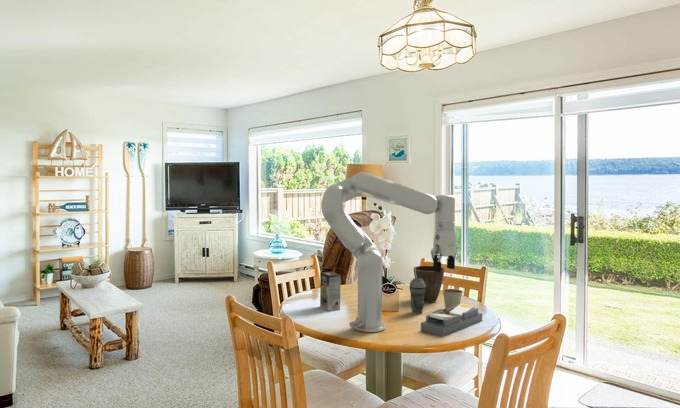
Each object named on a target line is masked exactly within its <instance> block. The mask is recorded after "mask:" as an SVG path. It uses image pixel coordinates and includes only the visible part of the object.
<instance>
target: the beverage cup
mask: <svg viewBox="0 0 680 408" xmlns="http://www.w3.org/2000/svg"><path fill="white" fill-rule="evenodd" d="M408 287H409V291H410V305H411V313H412V314H415V315H422V314H423V310H424V303H425V302H424V293H425V288H426V286H425V282H424V281H423V280H422V279H421V278H417V276H416V268H415V276H414V278H413V279H411V281H410V282H409V286H408Z"/></svg>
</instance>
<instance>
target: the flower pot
mask: <svg viewBox="0 0 680 408" xmlns="http://www.w3.org/2000/svg"><path fill="white" fill-rule="evenodd" d="M441 292H442V295H443V299H444V309H448V308H451V307H454V306H457V305H460V304H461V301H462V296H463V293H464V291H463V290H462V289H457V288H444V289H442V290H441Z"/></svg>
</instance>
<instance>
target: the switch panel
mask: <svg viewBox="0 0 680 408" xmlns="http://www.w3.org/2000/svg"><path fill="white" fill-rule="evenodd" d="M457 306H458V305H457ZM457 306H454V307H451V308H448V309H445V308H444V309H445V310H440V311H437V312H436V311H435V312H434V313H432V314H447V315H449V312H450V311H451V310H453V309H454V308H455V307H457ZM474 308H475V309H472V310H469V311H466V312H464V313H462V318H461V315H459V314H458V315H455V316H453V317H450V318H447V319H444V320H441V319H437V318H433V317H430V314H428V315H425V321H422V322H421V323H420V331H421V332H424V333H429V334H433V335H436V336H440V337H445V336H447V335H450V334H453V333H455V332H457V331H460V330H462V329H464V328H467V327H470V326H472V325H474V324H477V323H479V322H482V321H483V313H482V312H479V308H478V307H474ZM444 312H445V313H444ZM451 316H452V315H451Z"/></svg>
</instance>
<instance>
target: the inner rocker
mask: <svg viewBox="0 0 680 408" xmlns="http://www.w3.org/2000/svg"><path fill="white" fill-rule="evenodd" d="M429 315H430V317H433V318H437V319H441V320H444V319H447V318H450V317H453V316H451V315H447V314H445V313H444V314H433V313H430V314H429Z"/></svg>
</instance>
